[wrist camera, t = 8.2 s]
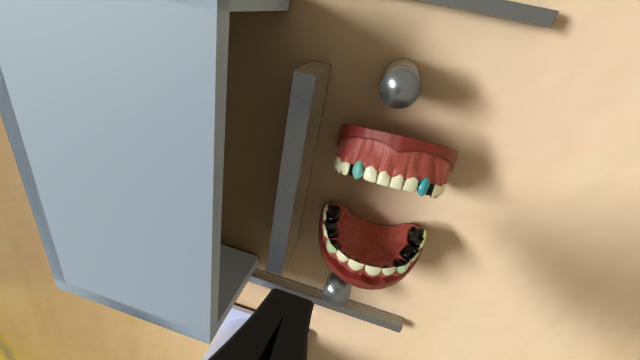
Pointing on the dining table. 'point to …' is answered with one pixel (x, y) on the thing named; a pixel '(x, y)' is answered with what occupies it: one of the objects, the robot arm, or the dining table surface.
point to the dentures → (372, 239)
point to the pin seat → (300, 145)
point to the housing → (127, 150)
